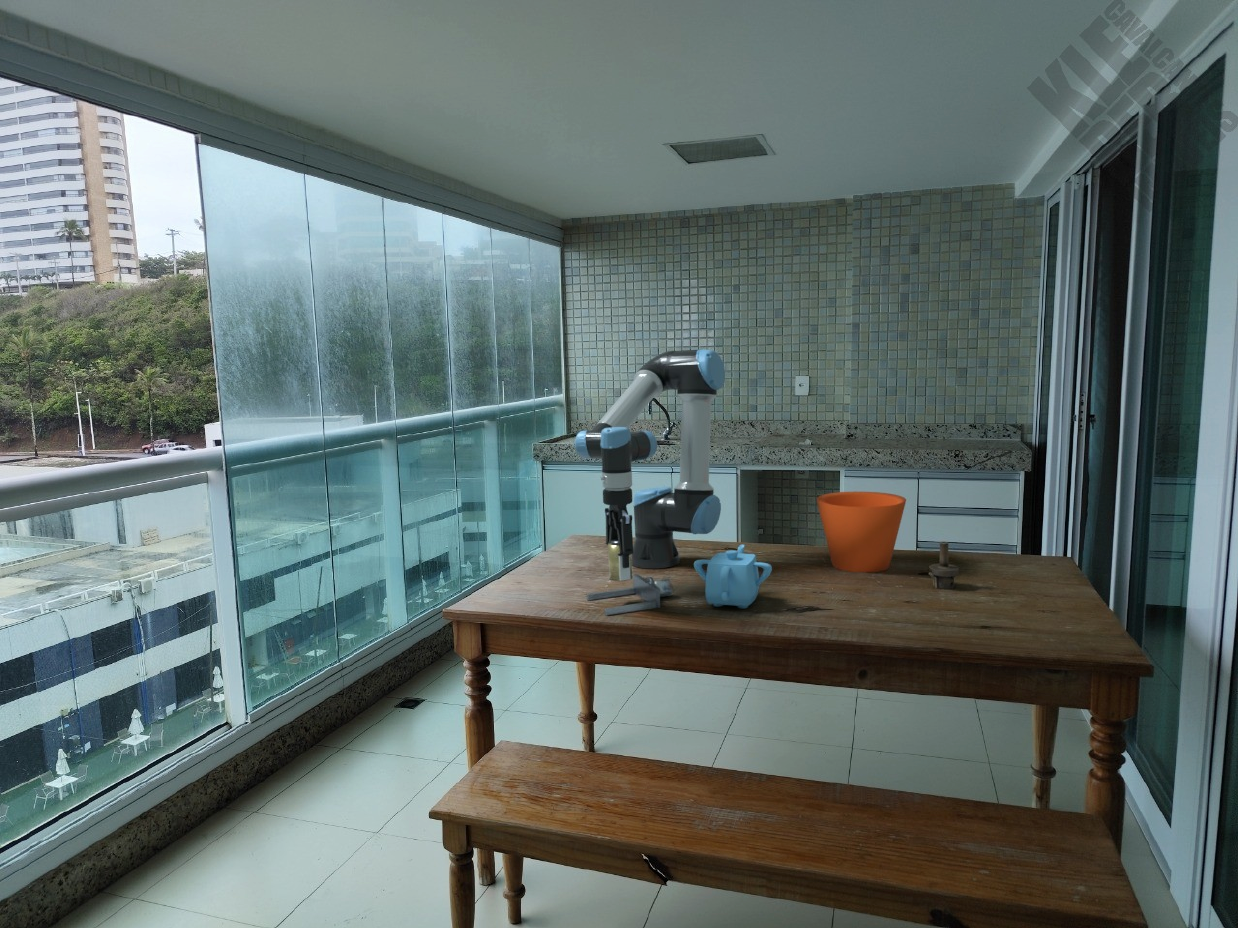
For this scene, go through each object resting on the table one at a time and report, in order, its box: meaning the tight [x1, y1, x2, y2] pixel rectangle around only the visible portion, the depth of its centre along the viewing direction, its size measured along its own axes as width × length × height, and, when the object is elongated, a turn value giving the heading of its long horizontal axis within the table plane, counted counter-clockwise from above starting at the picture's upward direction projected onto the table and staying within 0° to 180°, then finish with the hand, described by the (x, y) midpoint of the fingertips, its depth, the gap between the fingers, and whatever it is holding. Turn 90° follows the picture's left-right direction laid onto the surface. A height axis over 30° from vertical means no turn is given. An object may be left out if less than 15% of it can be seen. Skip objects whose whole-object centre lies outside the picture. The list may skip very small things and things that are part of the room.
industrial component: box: [928, 541, 960, 590], centre depth 217 cm, size 9×7×12 cm
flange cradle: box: [586, 573, 674, 616], centre depth 214 cm, size 21×15×6 cm
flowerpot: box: [816, 491, 907, 574], centre depth 241 cm, size 25×25×20 cm
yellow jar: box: [607, 539, 633, 582], centre depth 212 cm, size 6×6×10 cm
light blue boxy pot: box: [693, 544, 773, 609], centre depth 211 cm, size 18×16×14 cm
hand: (620, 576), depth 213 cm, fingers closed on yellow jar, 6 cm apart
